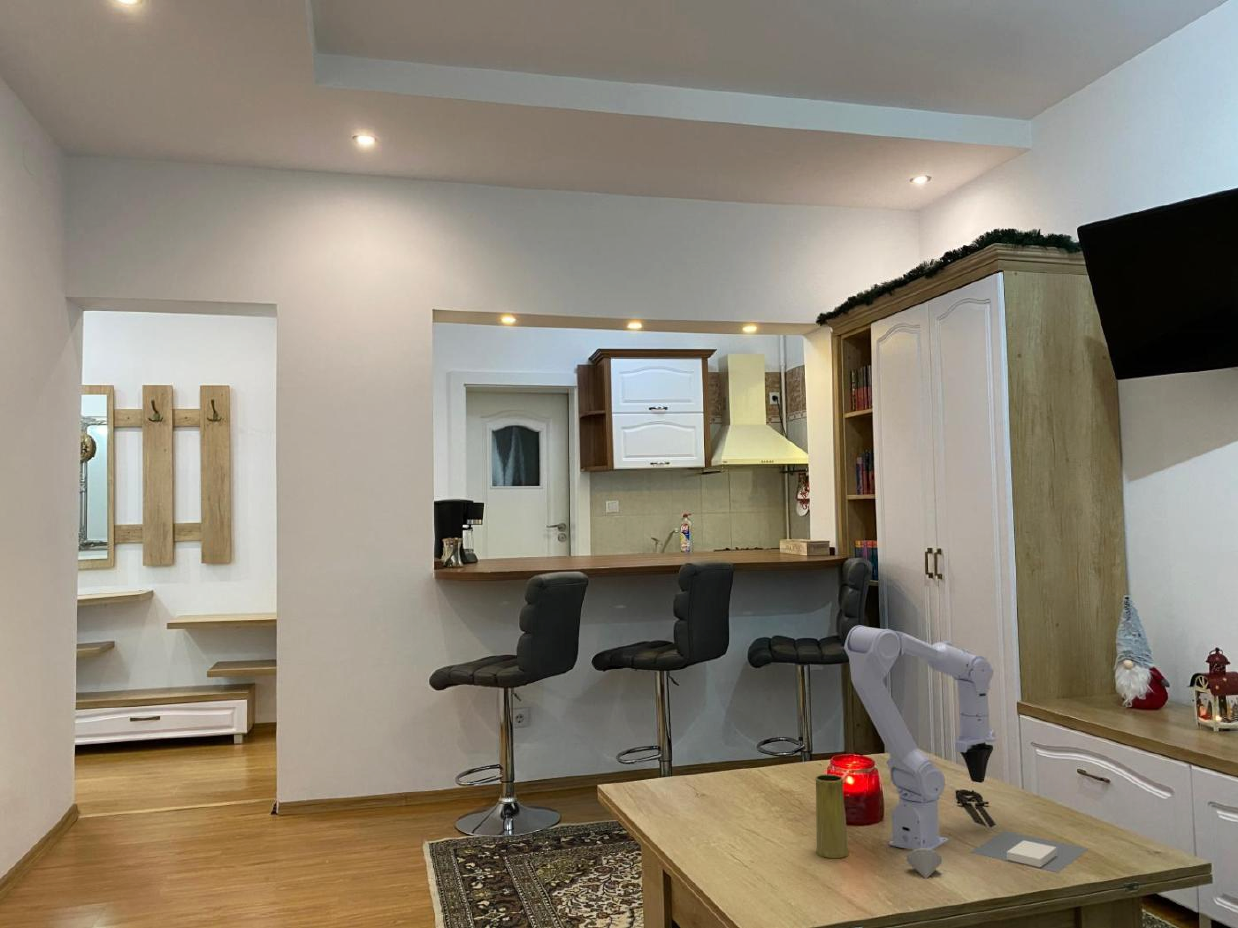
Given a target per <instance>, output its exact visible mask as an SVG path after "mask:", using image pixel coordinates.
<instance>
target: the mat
mask: <svg viewBox="0 0 1238 928" xmlns="http://www.w3.org/2000/svg"><path fill="white" fill-rule="evenodd" d="M1023 840H1024V841H1029V842H1034V843H1038V844H1043V845H1048V846H1052V847H1057V855H1056V856H1055V857H1054V858H1053V859H1051V860H1050V861H1049V862H1047V863H1046V864H1045V865H1043V866H1042V867H1041V868H1039V867H1034V866H1030V865H1026V864H1021V863H1017V862H1013V861H1009V860H1007V851H1009V850H1010V849H1011V848H1013V847H1014V846H1016V845H1017V844H1019V843H1020V842H1022V841H1023ZM1088 850H1089V848H1088V847H1084V846H1079V845H1074V844H1069V843H1064V842H1059V841H1056V840H1055V841H1054V840H1050V839H1045V838H1041V837H1035V836H1031V835H1026V834H1022V833H1017V832H1012V831H1007V830H1003V831H1001V832H1000V833H998V834H996V835H995V836H994V837H992V838H990V839H988V840H987V841H985V842H984V843H982V844H981V845H979V846H978V847H975V848H974V849H973V850H971V851H970V852H969V853H970V854H975V855H979V856H983V857H988V858H992V859H996V860H1001V861H1006V862H1009V863H1014V864H1018V865H1022V866H1026V867H1032V868H1035V869H1039V870H1044V871H1049V872H1052V873H1057V874H1059V873H1060V872H1061V871H1062V870H1064V869H1065V868H1067V867H1068V866H1069V865H1070V864H1071V863H1073V862H1074V861H1075V860H1077V858H1079V857H1081V855H1083V854H1084V853H1085V852H1087V851H1088Z"/></svg>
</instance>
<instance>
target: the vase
mask: <svg viewBox="0 0 1238 928" xmlns="http://www.w3.org/2000/svg"><path fill="white" fill-rule="evenodd" d="M844 801H845V799H844V778H843V777H842V776H841V775H837V774H834V773H833V774H831V773H827V774H825V773H822V774H818V775H816V776H815V806H816V809H815V813H816V815H815V817H816V819H815V822H816V850H815V851H816V854H817V855H819V856H820V857H823V858H826V859H842V858H846V857H848V856H849V853H850V852H849V848H848V832H847V820H846V819H847V817H846V809H845V802H844Z"/></svg>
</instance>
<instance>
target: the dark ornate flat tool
mask: <svg viewBox="0 0 1238 928" xmlns="http://www.w3.org/2000/svg"><path fill="white" fill-rule="evenodd" d="M969 796H970V797H969ZM955 798H956V800H957V801H956V806H957V807H962V808H965V810H966V811H967V812H968V813H969V815H970V816H971V818H972V819H973V821H974V822H975V823H976V824H979V825H982V826H984V827H988V826H989V828H990V829H992V828H994V827H995V826H997V824H996V822H995V821H994V819H992V817H991V816H990V814H989V813H988V811H987V810H986V808H985V807H989V804H990V802H989V801H983V800H984V799H983V796H982V795H981V794H980V793H979V792H976V791H975V790H974V789H973V790H972V789H971V790H970V791H969V790H967V789H956V790H955ZM976 800H977V801H978V802H976ZM972 802H973V803H974V806H973V804H972ZM977 810H978V811H977ZM978 812H979V813H980V814H979V813H978ZM980 815H981V816H980ZM986 823H987V824H986ZM987 825H988V826H987Z"/></svg>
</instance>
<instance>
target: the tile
mask: <svg viewBox="0 0 1238 928" xmlns="http://www.w3.org/2000/svg"><path fill="white" fill-rule="evenodd" d="M1056 855H1057V847H1052V846H1048V845H1043V844H1038V843H1034V842H1029V841H1024V840H1023V841H1022V842H1020V843H1019V844H1017V845H1016V846H1014V847H1013V848H1011V849H1010V850H1009V851H1007V860H1009V861H1013V862H1017V863H1016V864H1018V863H1021V864H1020V865H1022V864H1026V865H1030V866H1029V867H1031V866H1034V867H1033V868H1035V867H1039V868H1041V867H1042V866H1043V865H1045V864H1046V863H1047V862H1049V861H1050V860H1051V859H1053V858H1054V857H1055V856H1056ZM1009 861H1008V862H1009ZM1013 862H1012V863H1013ZM1026 865H1025V866H1026ZM1039 868H1038V869H1039Z"/></svg>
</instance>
